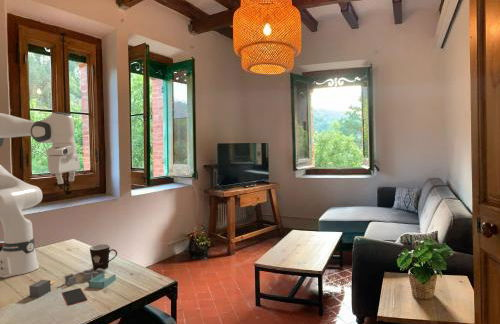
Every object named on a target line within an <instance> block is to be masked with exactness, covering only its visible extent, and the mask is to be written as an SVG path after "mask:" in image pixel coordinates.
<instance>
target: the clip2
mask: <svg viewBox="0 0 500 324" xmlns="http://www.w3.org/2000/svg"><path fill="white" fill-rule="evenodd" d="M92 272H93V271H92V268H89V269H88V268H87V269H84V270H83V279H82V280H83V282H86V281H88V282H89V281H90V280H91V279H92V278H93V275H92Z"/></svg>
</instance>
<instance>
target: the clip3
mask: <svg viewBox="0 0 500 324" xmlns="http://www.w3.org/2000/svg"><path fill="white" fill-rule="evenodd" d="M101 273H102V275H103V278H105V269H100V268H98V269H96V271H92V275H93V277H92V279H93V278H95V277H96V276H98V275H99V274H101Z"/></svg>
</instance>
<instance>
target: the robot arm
mask: <svg viewBox="0 0 500 324" xmlns="http://www.w3.org/2000/svg"><path fill="white" fill-rule="evenodd" d="M29 136H31V138H32V139H33V140H34V141H35V142H36V143H41V144H51V145H52V146H50V147H49V148H48V149H46V152H45V153H46V154H45V155H46V156H48V157H47V168H48V172H49V174H50V175H55V179H56V180H57V181H56V182H57V184H58V185H63V184H64V183H65V182H64V179H63V177H62V176H63V174H64V173H69V176H68V181H69V182H74V181H75V176H76V171H79V170H80V168H81V167H80V166H81V165H80V157H79V154H78V153H77V148H76V140H75V122H74V119H73V115H72V114H70V113H67V112H60V111H54V112H51V113H50V115H49V116H47V117H46V118H44V119H41V120H37V121H33V120H30V119H25V118H22V117H19V116H14V115H11V114H8V113H7V114H6V113H4V112H3V113H2V112H0V148H1V147H2V146H3V145H4V141H5V139H8V138H20V137H29ZM42 201H43V191H42V189H41V188H40V187H38V186H36V185H33V184H30V183H28V182H25V181H24V180H21V179H20V178H17V177H16V176H14V175H13V174H12V173H10V172H9V171H8V170H7V169H6V168H5V167H4V166H3V165H1V164H0V223H1V225H2V229H3V237H4V242H1V243H0V247H2V248H1V250H0V278H5V279H6V278H8V277H13V276H19V275H23V274H28V273H31V272H33V271H36V270H38V269H39V268H40V264H39V263H40V262H39V260H38V258H37V257H38V256H37V252H36V248H35V244H36V242H35V238H34V232H33V231H34V230H33V223H32V221H31V220H30V219H29V218H26V216H25V215H24V213H23V210H26V209H30V208H33V207H35V206H37V205H39V204H40V203H41V202H42Z"/></svg>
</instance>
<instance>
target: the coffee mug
mask: <svg viewBox="0 0 500 324" xmlns="http://www.w3.org/2000/svg"><path fill="white" fill-rule="evenodd" d="M110 247H111V246H110V244H107V243H102V244H95V245H92V246H90V247H89V253H90V257H91V262H92V263H91V265H92V268H93V270H94V272H97V271H96V269H98V268H100V269H104V270H107V269H109V265H110V264H109V263H110V261H112V260H114V259H115V258H116V257H117V255H118V252H117V250H116V249H113V248H112V249H111V248H110ZM112 251H113V252H115V255H114V256H113V257H112V258H110V253H111V252H112Z"/></svg>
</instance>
